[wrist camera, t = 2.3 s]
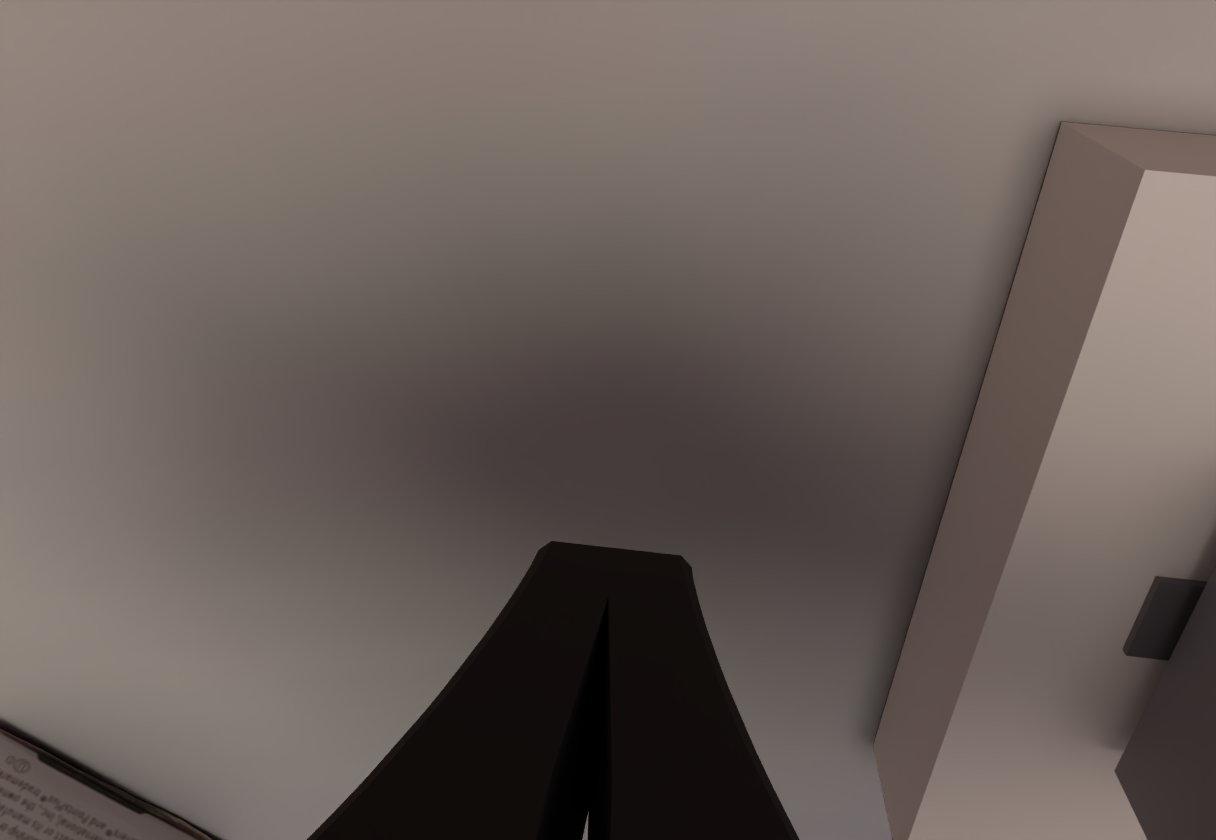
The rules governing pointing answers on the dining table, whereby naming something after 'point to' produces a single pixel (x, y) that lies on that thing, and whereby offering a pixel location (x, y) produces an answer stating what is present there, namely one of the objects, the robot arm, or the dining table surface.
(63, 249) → the dining table surface
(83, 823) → the candy bar box
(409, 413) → the dining table surface
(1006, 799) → the console
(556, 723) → the robot arm
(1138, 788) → the block
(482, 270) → the dining table surface
